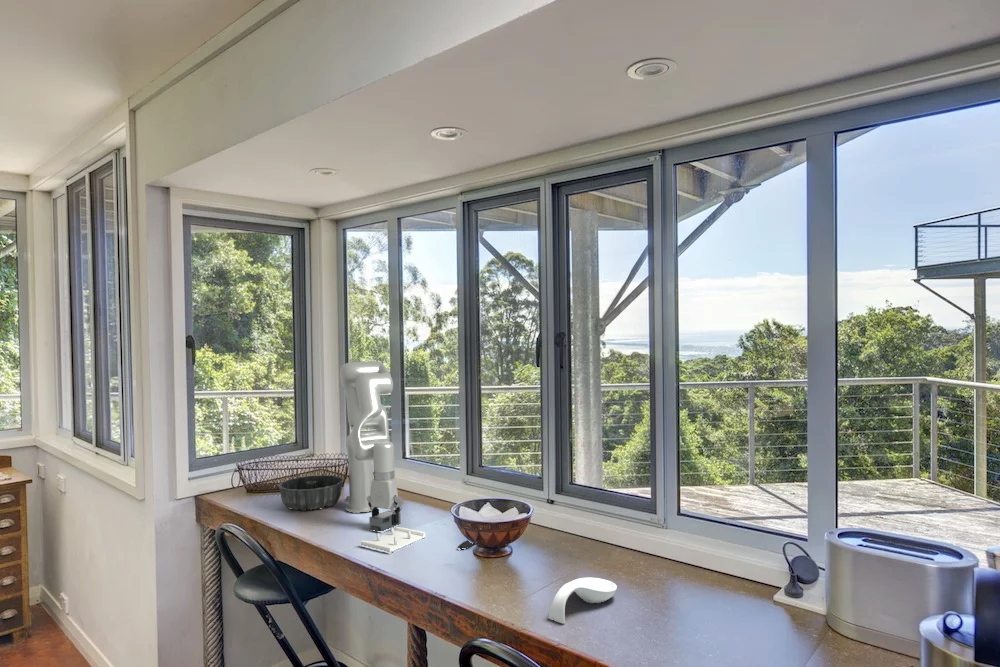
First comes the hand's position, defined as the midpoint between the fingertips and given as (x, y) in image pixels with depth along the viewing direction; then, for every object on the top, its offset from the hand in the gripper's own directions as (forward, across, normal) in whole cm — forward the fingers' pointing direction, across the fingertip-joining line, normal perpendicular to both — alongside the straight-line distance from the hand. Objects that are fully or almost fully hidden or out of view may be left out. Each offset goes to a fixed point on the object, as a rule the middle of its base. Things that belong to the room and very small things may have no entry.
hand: (385, 522), depth 227 cm
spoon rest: (+5, +89, -21) cm, 91 cm away
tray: (+2, +13, -10) cm, 16 cm away
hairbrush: (+4, +39, +8) cm, 40 cm away
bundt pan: (+2, -48, +7) cm, 49 cm away
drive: (+2, 0, 0) cm, 2 cm away
